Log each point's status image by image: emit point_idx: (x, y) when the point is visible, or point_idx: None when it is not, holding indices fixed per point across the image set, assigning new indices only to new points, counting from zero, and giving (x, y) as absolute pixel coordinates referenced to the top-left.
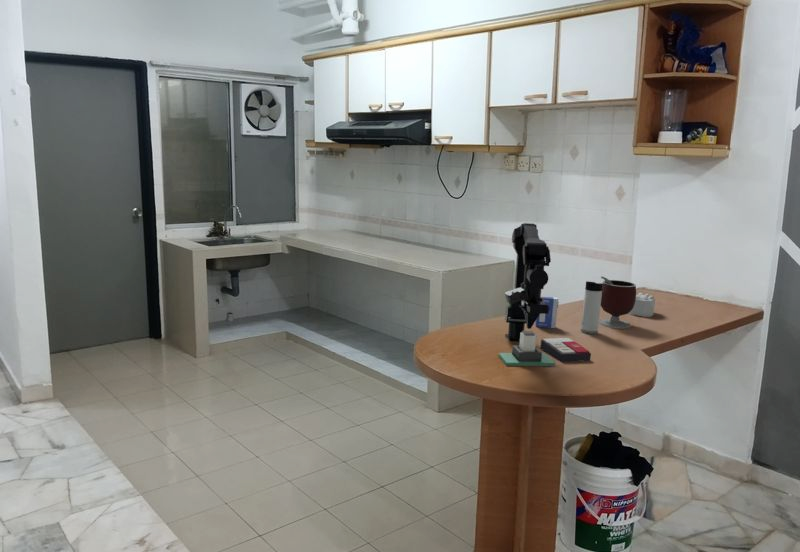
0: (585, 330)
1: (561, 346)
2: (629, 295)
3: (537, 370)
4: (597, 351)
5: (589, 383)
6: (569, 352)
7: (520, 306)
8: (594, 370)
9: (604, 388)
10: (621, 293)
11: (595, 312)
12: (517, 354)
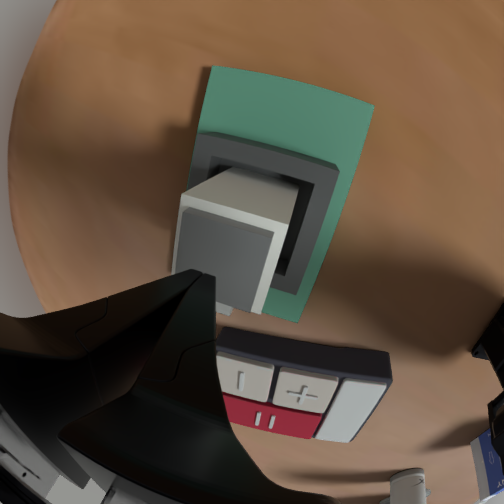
0: (406, 474)
1: (277, 390)
2: None
3: (140, 178)
4: (287, 443)
5: (55, 267)
6: None
7: (107, 466)
8: None
9: (38, 276)
10: None
11: None
12: (233, 138)
